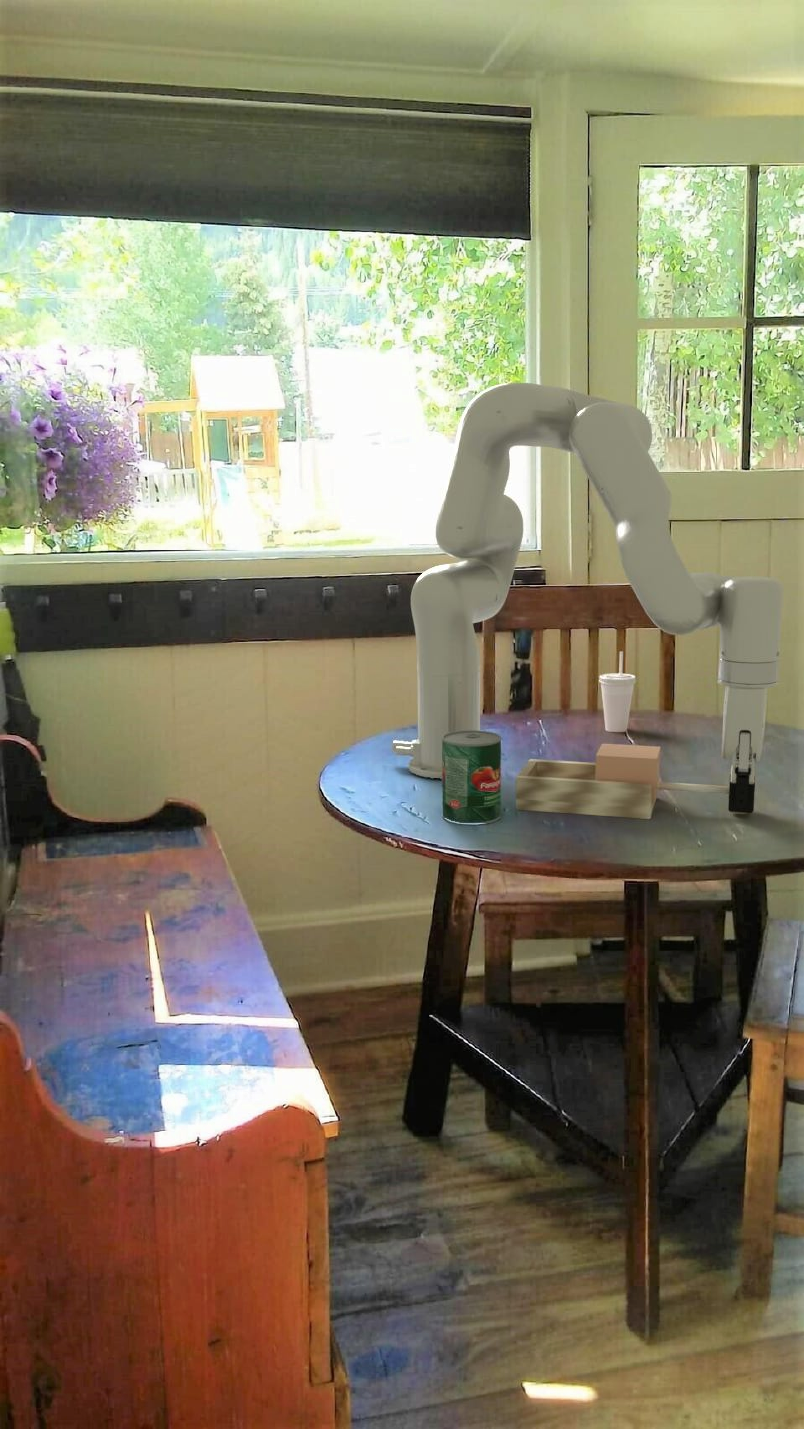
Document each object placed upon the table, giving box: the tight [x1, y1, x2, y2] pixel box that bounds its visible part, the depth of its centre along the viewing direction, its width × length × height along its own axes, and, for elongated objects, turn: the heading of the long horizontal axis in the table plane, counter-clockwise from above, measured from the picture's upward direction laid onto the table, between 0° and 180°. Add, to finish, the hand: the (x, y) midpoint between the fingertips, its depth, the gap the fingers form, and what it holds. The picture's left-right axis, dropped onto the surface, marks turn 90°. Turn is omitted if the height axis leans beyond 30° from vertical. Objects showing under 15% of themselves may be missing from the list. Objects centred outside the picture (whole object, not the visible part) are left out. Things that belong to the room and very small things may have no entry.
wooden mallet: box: [595, 743, 756, 815], centre depth 155 cm, size 20×7×7 cm, turn 74°
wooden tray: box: [515, 758, 656, 820], centre depth 159 cm, size 18×11×4 cm, turn 74°
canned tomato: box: [441, 730, 502, 824], centre depth 153 cm, size 8×8×11 cm
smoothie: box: [598, 651, 637, 733], centre depth 202 cm, size 6×6×14 cm
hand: (740, 806), depth 153 cm, fingers closed on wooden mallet, 3 cm apart
